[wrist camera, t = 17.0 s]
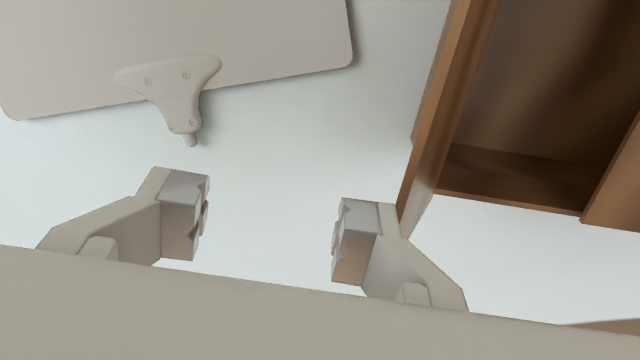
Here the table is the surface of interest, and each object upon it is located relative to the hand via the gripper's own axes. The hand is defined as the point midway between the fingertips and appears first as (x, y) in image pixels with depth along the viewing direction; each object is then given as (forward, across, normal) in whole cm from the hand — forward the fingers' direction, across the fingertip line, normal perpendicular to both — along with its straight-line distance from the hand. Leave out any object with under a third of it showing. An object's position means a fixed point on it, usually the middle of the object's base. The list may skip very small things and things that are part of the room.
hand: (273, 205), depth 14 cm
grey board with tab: (+21, +11, -1) cm, 24 cm away
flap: (+9, -7, 0) cm, 11 cm away
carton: (+21, -18, 0) cm, 28 cm away
